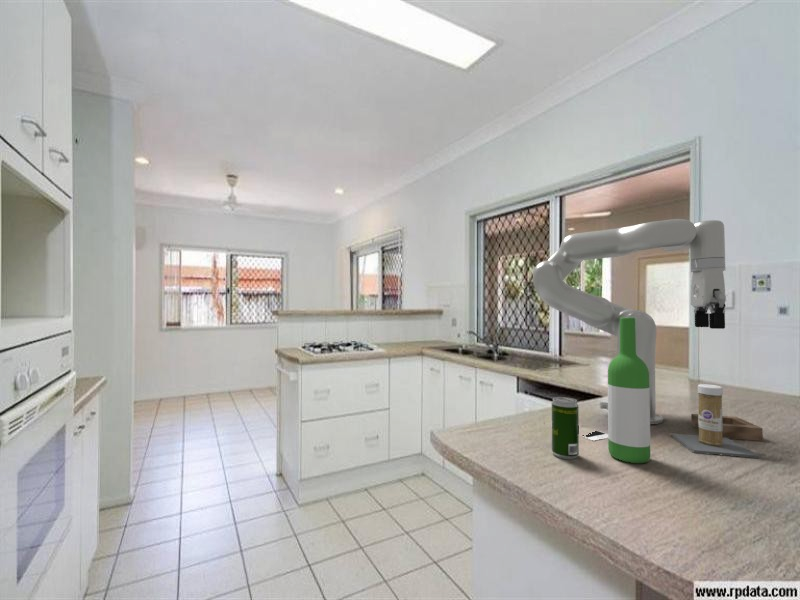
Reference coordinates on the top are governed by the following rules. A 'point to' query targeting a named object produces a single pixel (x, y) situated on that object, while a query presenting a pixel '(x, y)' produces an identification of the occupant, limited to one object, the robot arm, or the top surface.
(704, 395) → the sprinkles bottle
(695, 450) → the charcoal mat
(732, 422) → the walnut caddy
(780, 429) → the top surface
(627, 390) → the wine bottle
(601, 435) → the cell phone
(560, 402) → the beer can
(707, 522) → the top surface
